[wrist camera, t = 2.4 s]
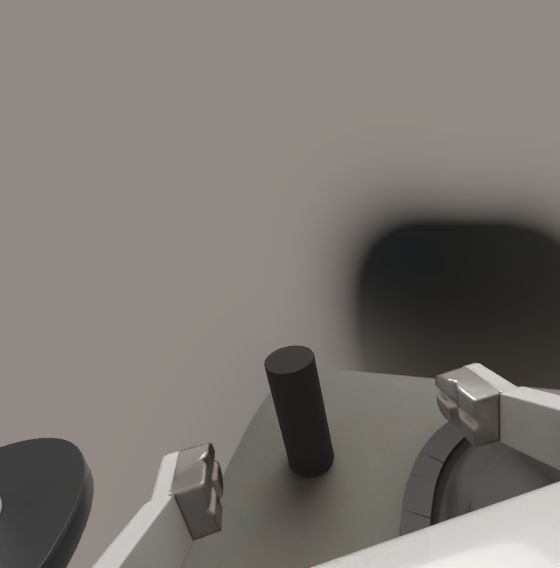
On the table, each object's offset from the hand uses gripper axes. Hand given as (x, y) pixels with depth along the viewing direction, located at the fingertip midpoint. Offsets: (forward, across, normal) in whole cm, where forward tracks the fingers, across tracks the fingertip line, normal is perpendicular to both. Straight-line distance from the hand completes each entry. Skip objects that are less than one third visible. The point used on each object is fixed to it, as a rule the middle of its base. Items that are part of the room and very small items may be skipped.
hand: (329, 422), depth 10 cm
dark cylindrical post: (+12, 0, +14) cm, 19 cm away
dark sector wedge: (+6, -10, +15) cm, 19 cm away
